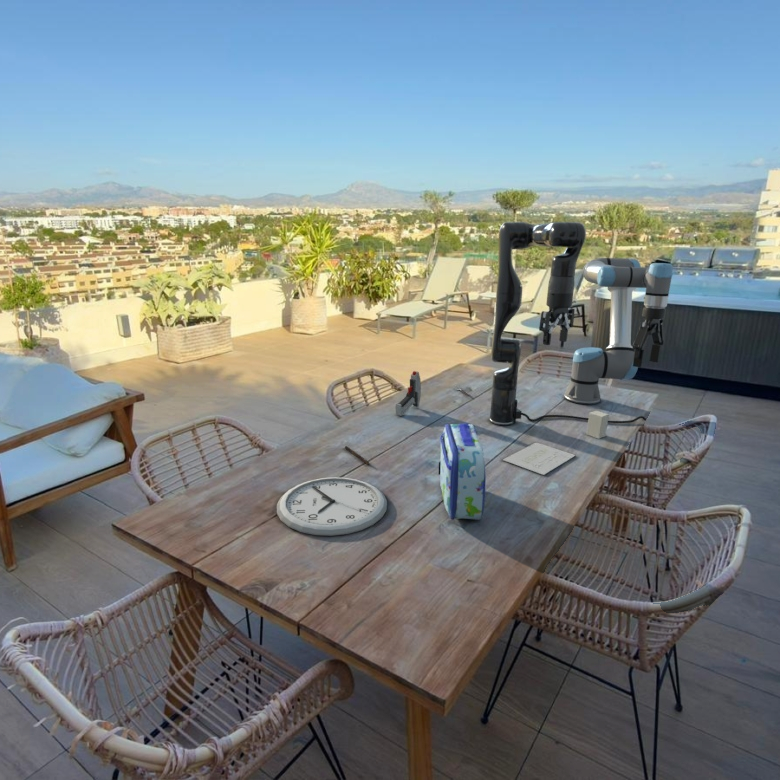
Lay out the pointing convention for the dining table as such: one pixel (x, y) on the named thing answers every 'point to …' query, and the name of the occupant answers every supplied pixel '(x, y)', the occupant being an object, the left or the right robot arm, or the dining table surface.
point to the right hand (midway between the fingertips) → (645, 364)
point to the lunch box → (462, 472)
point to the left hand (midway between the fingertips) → (554, 343)
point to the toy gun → (410, 395)
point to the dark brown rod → (357, 455)
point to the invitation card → (539, 458)
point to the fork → (460, 389)
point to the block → (597, 424)
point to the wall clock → (331, 506)
